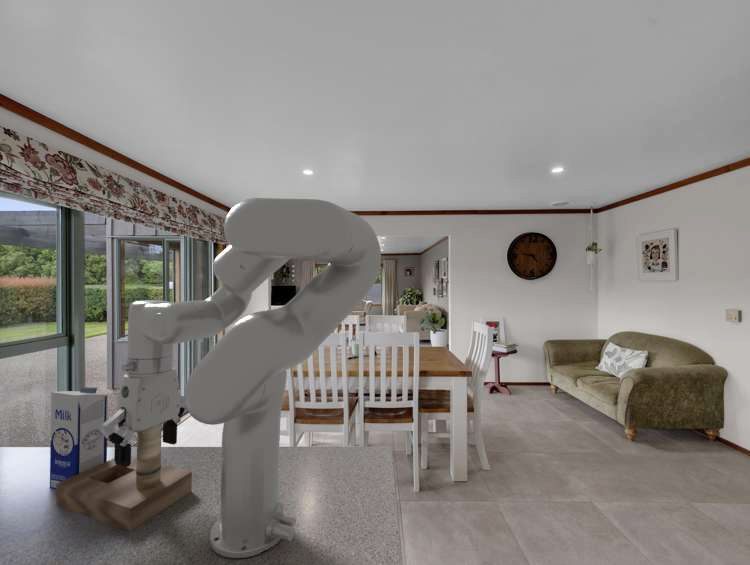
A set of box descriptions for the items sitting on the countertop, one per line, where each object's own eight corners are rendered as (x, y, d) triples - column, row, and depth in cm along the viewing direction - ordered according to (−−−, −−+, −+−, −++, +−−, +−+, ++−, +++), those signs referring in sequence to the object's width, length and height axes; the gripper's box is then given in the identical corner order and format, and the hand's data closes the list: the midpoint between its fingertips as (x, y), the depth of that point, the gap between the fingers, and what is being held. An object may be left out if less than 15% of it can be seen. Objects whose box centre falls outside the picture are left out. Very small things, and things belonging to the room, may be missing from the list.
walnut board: (191, 491, 75) (191, 472, 75) (129, 531, 63) (130, 508, 63) (123, 471, 82) (123, 454, 82) (55, 504, 70) (56, 483, 70)
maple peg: (165, 481, 72) (166, 419, 72) (146, 492, 68) (147, 427, 68) (150, 476, 73) (151, 416, 73) (130, 487, 69) (131, 424, 69)
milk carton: (48, 488, 76) (50, 391, 75) (82, 471, 82) (83, 382, 82) (75, 493, 74) (77, 394, 74) (107, 476, 80) (109, 385, 80)
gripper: (118, 378, 61) (115, 480, 61) (201, 358, 77) (198, 439, 78) (88, 372, 64) (86, 470, 64) (174, 354, 80) (171, 432, 80)
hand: (147, 453), depth 71 cm, fingers open, 9 cm apart
